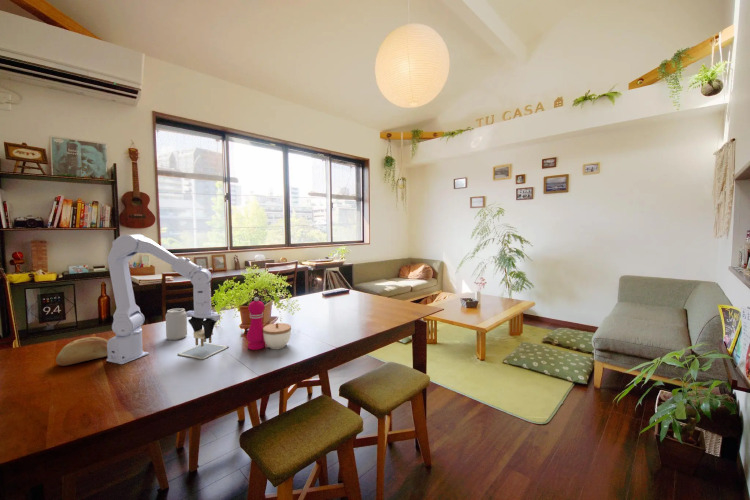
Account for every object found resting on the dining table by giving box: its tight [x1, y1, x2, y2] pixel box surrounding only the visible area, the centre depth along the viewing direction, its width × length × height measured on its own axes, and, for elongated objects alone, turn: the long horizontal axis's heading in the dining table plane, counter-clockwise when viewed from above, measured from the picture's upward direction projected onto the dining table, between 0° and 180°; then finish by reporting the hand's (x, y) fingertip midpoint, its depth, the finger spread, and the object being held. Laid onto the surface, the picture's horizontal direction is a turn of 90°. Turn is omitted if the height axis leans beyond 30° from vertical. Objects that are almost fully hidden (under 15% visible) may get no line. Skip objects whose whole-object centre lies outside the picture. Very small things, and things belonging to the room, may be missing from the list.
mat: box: [177, 342, 229, 361], centre depth 119 cm, size 12×12×1 cm
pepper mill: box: [246, 296, 266, 351], centre depth 124 cm, size 7×7×20 cm
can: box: [164, 307, 188, 341], centre depth 132 cm, size 8×8×12 cm
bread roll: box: [55, 336, 109, 367], centre depth 110 cm, size 10×15×8 cm, turn 136°
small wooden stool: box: [193, 328, 214, 346], centre depth 119 cm, size 5×4×5 cm
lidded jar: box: [263, 322, 292, 350], centre depth 125 cm, size 11×11×9 cm
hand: (203, 337), depth 119 cm, fingers closed on small wooden stool, 4 cm apart
